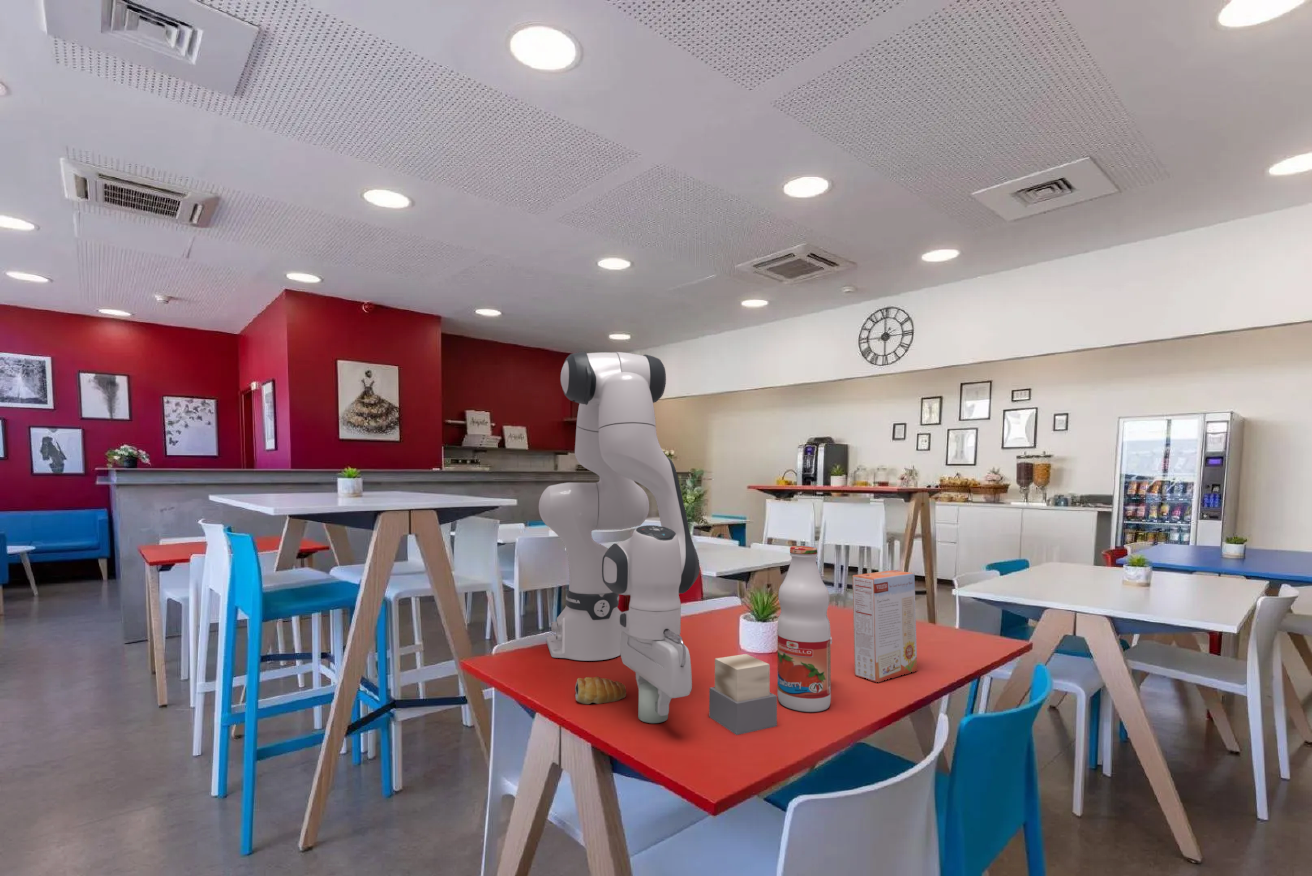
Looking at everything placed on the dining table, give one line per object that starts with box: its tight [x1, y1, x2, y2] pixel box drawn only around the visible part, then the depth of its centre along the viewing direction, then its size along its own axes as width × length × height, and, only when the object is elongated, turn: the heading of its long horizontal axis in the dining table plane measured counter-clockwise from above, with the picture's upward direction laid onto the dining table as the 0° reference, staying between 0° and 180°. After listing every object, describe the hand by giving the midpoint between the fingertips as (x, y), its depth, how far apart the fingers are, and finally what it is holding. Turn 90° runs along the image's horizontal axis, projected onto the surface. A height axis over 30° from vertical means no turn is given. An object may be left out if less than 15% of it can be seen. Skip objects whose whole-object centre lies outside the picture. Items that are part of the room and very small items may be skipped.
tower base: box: [708, 686, 778, 736], centre depth 100 cm, size 8×8×5 cm
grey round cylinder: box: [637, 682, 669, 724], centre depth 101 cm, size 5×5×5 cm
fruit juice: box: [776, 545, 832, 713], centre depth 109 cm, size 9×9×28 cm
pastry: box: [574, 676, 627, 705], centre depth 110 cm, size 9×7×4 cm
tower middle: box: [714, 653, 771, 702], centre depth 100 cm, size 6×6×5 cm
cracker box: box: [852, 569, 918, 683], centre depth 126 cm, size 14×6×21 cm, turn 123°
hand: (653, 707), depth 101 cm, fingers closed on grey round cylinder, 5 cm apart
